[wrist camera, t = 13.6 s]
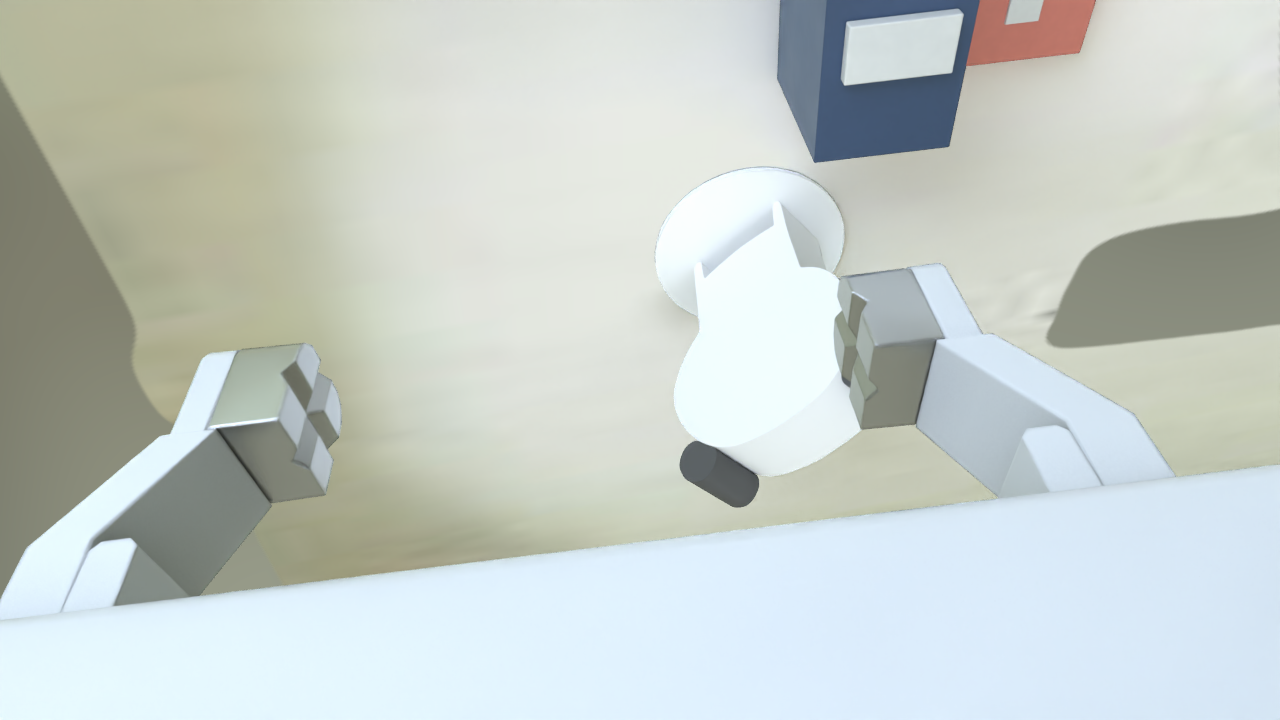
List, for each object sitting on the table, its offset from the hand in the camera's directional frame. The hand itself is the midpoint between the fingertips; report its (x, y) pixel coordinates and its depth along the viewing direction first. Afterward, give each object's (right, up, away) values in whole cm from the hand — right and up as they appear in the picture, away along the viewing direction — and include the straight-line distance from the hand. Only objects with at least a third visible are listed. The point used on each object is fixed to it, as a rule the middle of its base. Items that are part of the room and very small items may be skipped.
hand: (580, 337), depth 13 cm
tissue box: (+10, +18, +25) cm, 33 cm away
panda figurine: (+7, +6, +37) cm, 38 cm away
